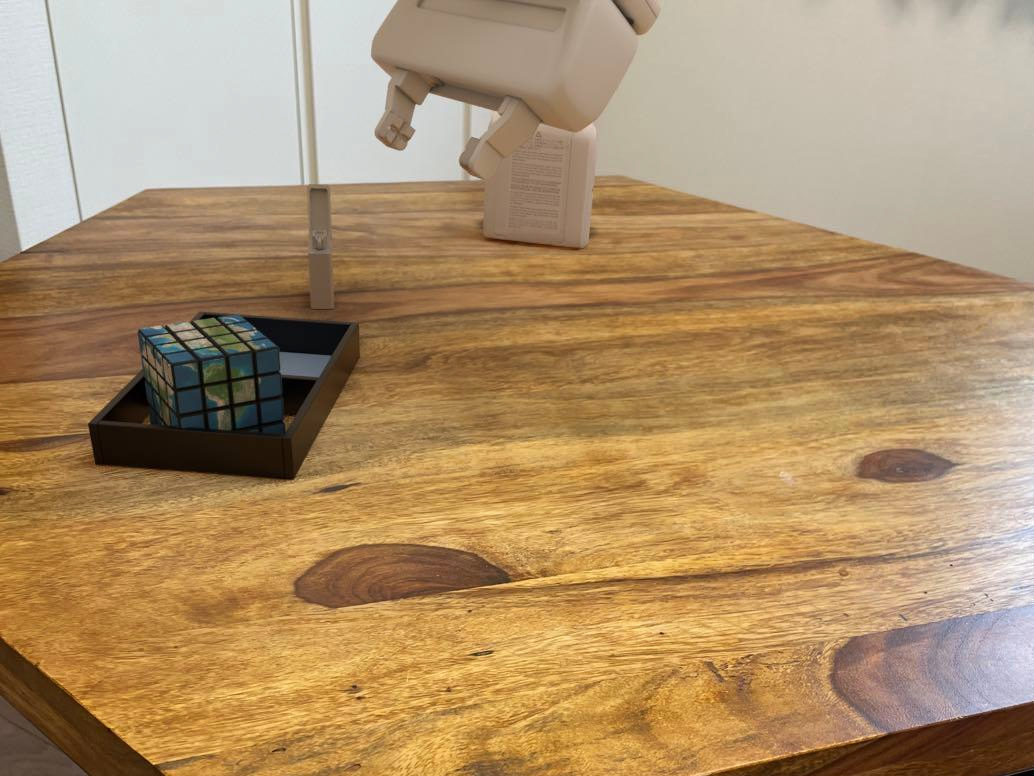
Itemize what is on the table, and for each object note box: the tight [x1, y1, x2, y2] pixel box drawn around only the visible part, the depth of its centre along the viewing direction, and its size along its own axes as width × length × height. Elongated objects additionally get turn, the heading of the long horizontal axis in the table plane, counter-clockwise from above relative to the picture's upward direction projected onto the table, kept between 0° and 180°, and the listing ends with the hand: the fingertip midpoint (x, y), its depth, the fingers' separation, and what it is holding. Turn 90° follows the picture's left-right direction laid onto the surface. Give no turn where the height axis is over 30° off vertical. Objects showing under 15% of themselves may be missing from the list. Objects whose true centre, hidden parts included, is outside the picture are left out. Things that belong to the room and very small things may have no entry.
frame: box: [87, 310, 361, 480], centre depth 66 cm, size 11×18×2 cm, turn 177°
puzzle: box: [137, 313, 286, 434], centre depth 61 cm, size 6×6×6 cm
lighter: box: [306, 183, 335, 310], centre depth 83 cm, size 7×2×8 cm, turn 9°
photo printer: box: [482, 110, 598, 249], centre depth 99 cm, size 10×4×12 cm, turn 81°
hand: (427, 158), depth 67 cm, fingers open, 8 cm apart
